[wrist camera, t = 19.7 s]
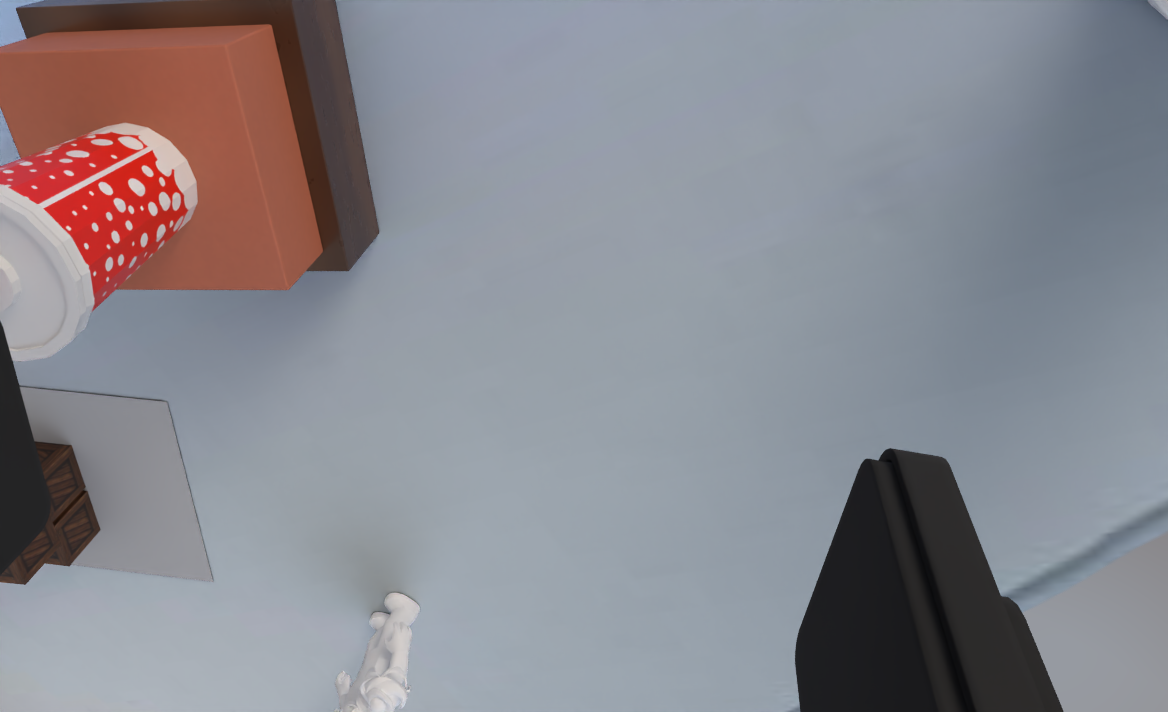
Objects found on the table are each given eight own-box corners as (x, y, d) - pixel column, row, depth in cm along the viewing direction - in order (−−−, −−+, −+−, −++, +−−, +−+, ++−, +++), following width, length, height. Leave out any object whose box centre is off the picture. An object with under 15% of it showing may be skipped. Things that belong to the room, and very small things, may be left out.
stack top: (272, 23, 35) (225, 44, 31) (324, 251, 40) (289, 290, 37) (45, 32, 36) (-23, 53, 33) (124, 252, 41) (72, 289, 38)
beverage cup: (42, 176, 35) (-296, 354, 23) (109, 68, 32) (-234, 207, 20) (170, 277, 37) (-83, 490, 25) (245, 182, 34) (1, 371, 22)
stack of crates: (213, 581, 59) (160, 662, 54) (8, 556, 61) (-66, 633, 55) (167, 401, 52) (99, 473, 46) (-68, 377, 53) (-163, 444, 47)
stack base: (331, -21, 38) (290, -4, 34) (379, 233, 44) (349, 271, 40) (81, -10, 39) (14, 7, 36) (161, 234, 46) (112, 271, 42)
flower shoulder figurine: (389, 659, 62) (328, 823, 51) (342, 632, 61) (269, 794, 50) (455, 593, 57) (402, 758, 47) (405, 563, 56) (340, 725, 46)
